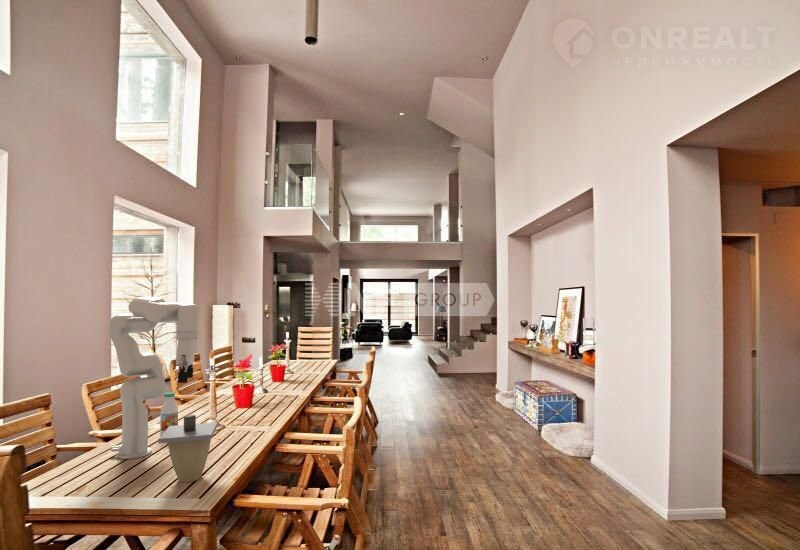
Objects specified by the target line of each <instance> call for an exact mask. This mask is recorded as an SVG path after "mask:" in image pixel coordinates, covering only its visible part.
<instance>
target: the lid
mask: <svg viewBox="0 0 800 550" xmlns="http://www.w3.org/2000/svg"><path fill="white" fill-rule="evenodd" d="M196 417H197V416H196V414H188V415H184V416H183V424H182V425H181V424H180V425H179V424H178V425H176V426H169V427H168V428H167V430H166V431H165V432H164V433H163V434H162V435H160V436H159V437H158V441H157V443H158V444H164V443H165V444H166V443H167V444H168V443H169V442H181V441H194V440H206V439H211V440H212V438H213V436H214V434H215V432H216V430H217V428H218V422H205V423H197V422H196V421H197V418H196Z"/></svg>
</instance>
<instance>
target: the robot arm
mask: <svg viewBox="0 0 800 550" xmlns="http://www.w3.org/2000/svg"><path fill="white" fill-rule="evenodd" d="M128 311H129V312H130V313H122V314H117V315H115V316H114V315H113V316H112V317H111V319H110V320H109V322H108V334H109V337H110V340H111V342H112V344H113V346H114V348H115V350H116V351H115V352H116V356H117V362H118V368H119V372H120V374H121V375H122V376H123V377H125V378H132V377H134V378H132V379H128V380H126V381H124V382H123V383H122V384H121V386H120V388H119V389H120V390H119V393H120V399H121V406H122V407H121V408H122V411H121V413H122V420H121V422H122V424H121V425H122V428H121V429H122V430H121V444H120V445H112V446H110V452H112V453H116V452H117V454H116V455H117V458H118V459H120V460H121V459H122V460H133V459H139V458H142V457H145V456H148V455H150V454H151V453H152V447H150V446H148V444H149V442H148V441H149V439H148V437H149V409H148V407H147V406H146V405H145V403H144V402H143V401H146V400H151V399H157V398H160V397H162V396H164V394H165V393H166V380H165V376H164V371H163V367H162V363H161V362H162V361H161V359H160V357H159V356H158V355H157V354H156V353H152V352H143V353H142V352H141V351H140V349H139V343H138V342H137V341H136V340H135V338H134V337H132V336H131V335H130V334H135V333H137V334H139V333H148V332H151V331H153V330H154V329H155V328H156V327H157V325H158V324H160V323H176V336H175V339H176V341H177V345H176V346H177V347H176V358H175V366H176V367H178V369H177V370H178V372H177V383H179V384H186V383H188V379H193V376H194V362H195V355H196V353H195V350H196V347H195V346H196V345H195V344H196V340H198V333H199V332H198V331H199V329H198V328H199V305H197V304H196V303H195V304H194V303H186V302H167V301H165V299H164V298H162V297H157V296H155V297H153V296H145V297H144V296H142V297H141V296H140V297H135V298H134V299H132V300H131V301H130V302H129V304H128ZM141 376H145V377H141ZM135 377H137V378H135Z"/></svg>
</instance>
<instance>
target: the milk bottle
mask: <svg viewBox="0 0 800 550" xmlns="http://www.w3.org/2000/svg"><path fill="white" fill-rule="evenodd" d="M175 395H176V393H175V392H173V391H171V392H165V393H164V394H163V397H164V401H163V404H162V405H161V408H160V419H159V420H160V421H159V423H160V424H159V425H160V426H159V435H160V436H161V435H162V434H163V433H164V432H165V431H166V430H167V428H168V427H169V426H176V425H179V408H178V405H177V403H176V401H175Z"/></svg>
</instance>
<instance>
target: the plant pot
mask: <svg viewBox="0 0 800 550" xmlns="http://www.w3.org/2000/svg"><path fill="white" fill-rule="evenodd" d="M211 441H212V438H211V439H206V440H194V441H181V442H169V443H167V445H168V452H169V455H170V461H171V464H172V467H173V469H174V472H175V475H176V477H177V479H178V481H179V483H191V482H192V483H193V482H196V481H198V480H199V479H200V478H201V477H202V476H203V475H202V474H203V472H204V469H205V466H206V463H207V460H208V457H209V456H208V455H209V451H210V447H211Z"/></svg>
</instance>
